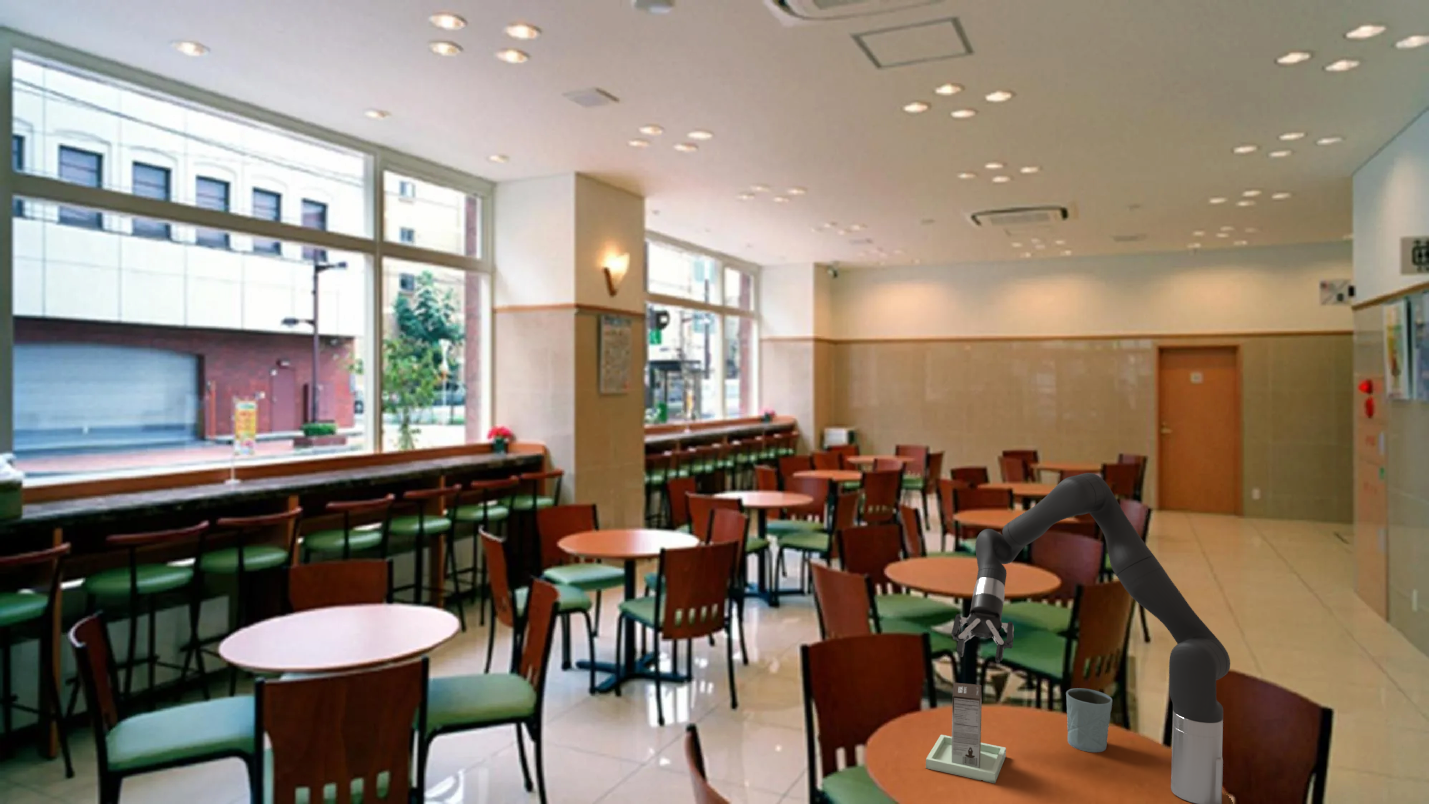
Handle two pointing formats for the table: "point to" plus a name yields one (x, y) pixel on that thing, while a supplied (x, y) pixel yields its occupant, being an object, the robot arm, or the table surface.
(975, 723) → the coffee box
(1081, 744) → the blue-grey cup
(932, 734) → the table surface
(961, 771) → the tray
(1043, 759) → the table surface
